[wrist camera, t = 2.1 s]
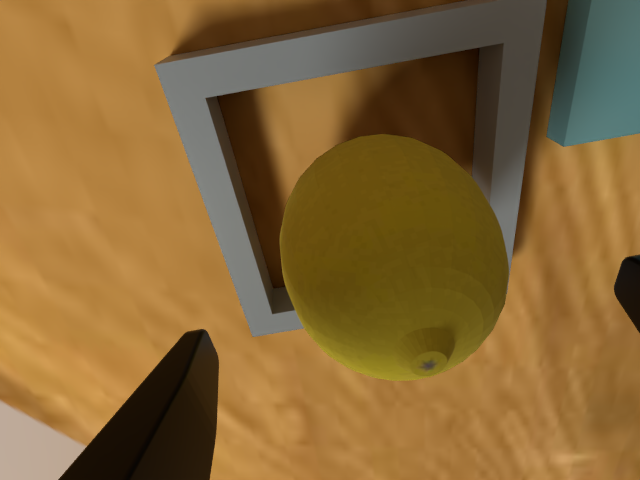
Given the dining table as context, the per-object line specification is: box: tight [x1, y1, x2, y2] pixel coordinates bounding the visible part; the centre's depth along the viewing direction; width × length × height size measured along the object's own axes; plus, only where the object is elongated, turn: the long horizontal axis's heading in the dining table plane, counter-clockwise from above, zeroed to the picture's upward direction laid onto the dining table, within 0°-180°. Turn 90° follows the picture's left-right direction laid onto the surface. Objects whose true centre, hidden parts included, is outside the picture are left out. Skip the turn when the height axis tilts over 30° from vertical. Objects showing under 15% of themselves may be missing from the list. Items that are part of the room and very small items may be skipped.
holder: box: [154, 0, 547, 337], centre depth 13 cm, size 10×10×2 cm
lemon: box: [280, 134, 509, 381], centre depth 11 cm, size 6×6×8 cm
